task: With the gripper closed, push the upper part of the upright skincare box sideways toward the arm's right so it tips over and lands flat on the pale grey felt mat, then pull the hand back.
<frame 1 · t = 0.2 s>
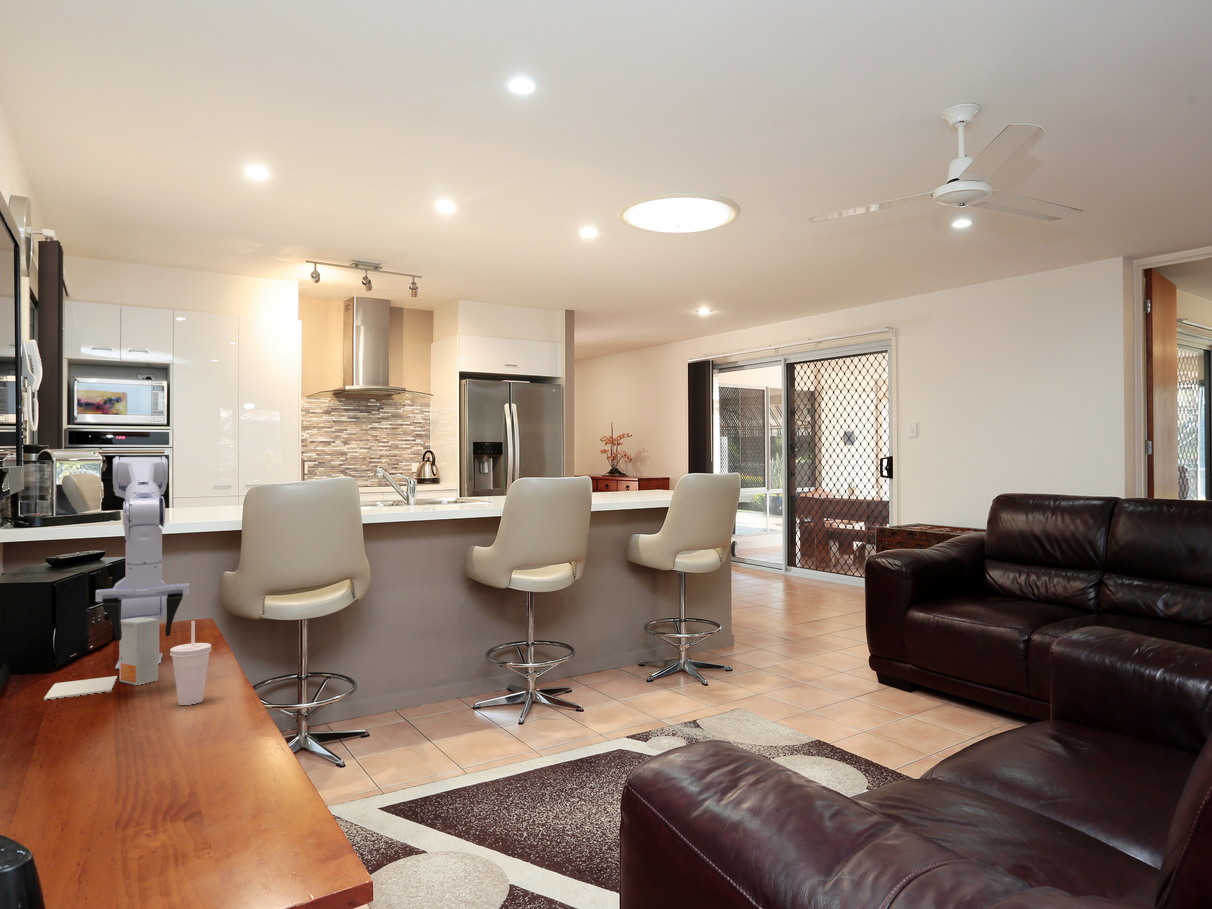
hand: (143, 637, 136), 10 cm above the tv stand, tool pointing down, fingers open, 7 cm apart
smoothie: (190, 703, 129), on the tv stand
skincare box: (139, 682, 143), on the tv stand
felt mat: (82, 688, 139), on the tv stand
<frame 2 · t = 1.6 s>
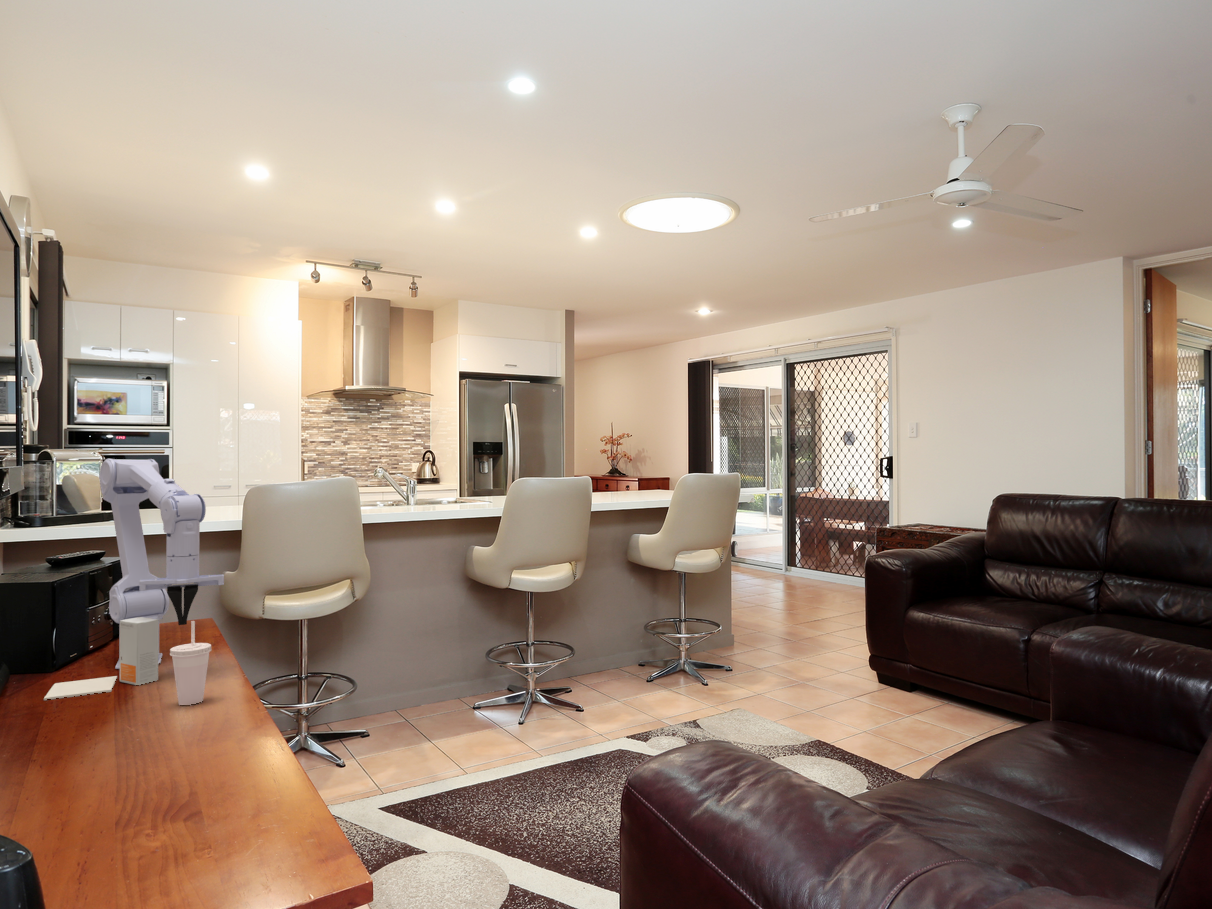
hand: (182, 624, 147), 10 cm above the tv stand, tool pointing down, fingers closed
nothing on the tv stand moved.
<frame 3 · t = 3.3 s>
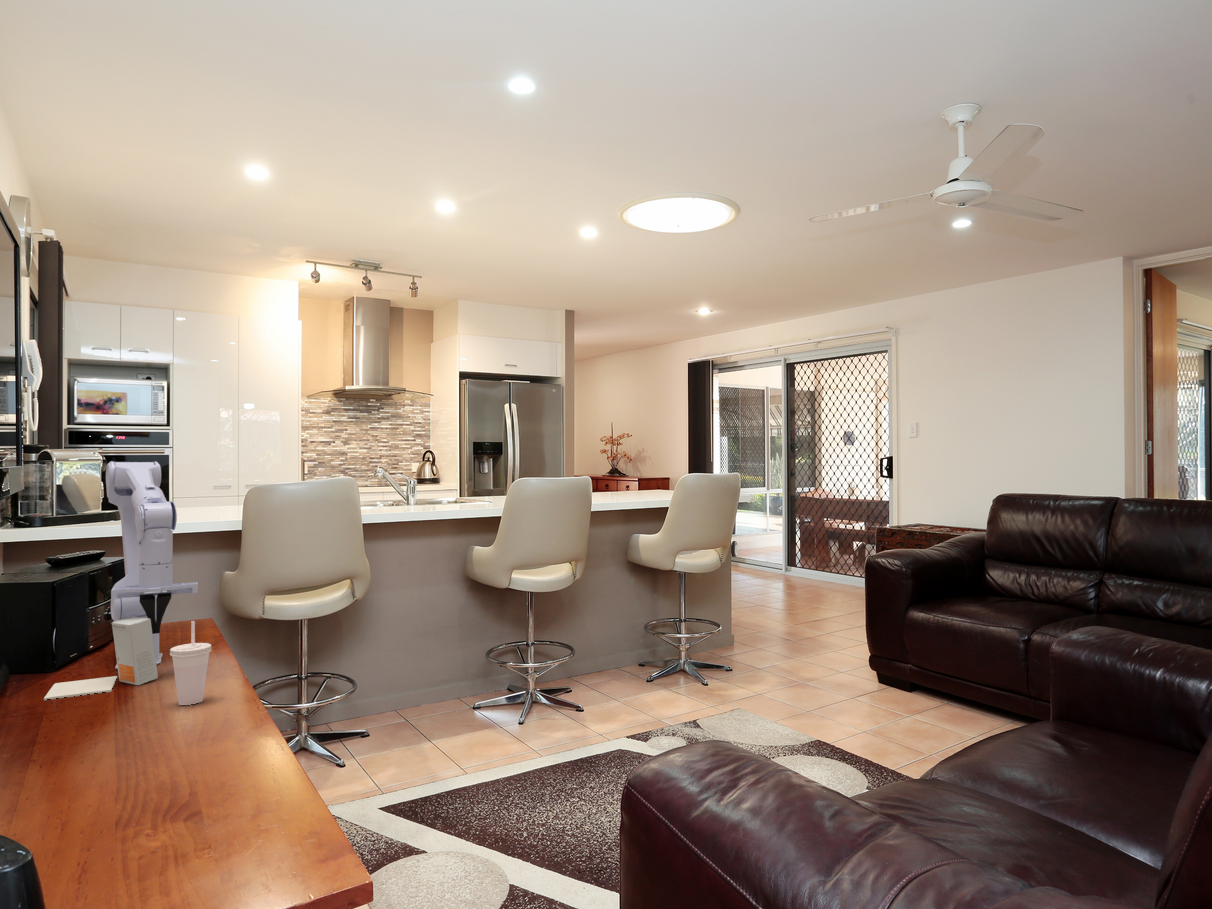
hand: (155, 632, 145), 9 cm above the tv stand, tool pointing down, fingers closed
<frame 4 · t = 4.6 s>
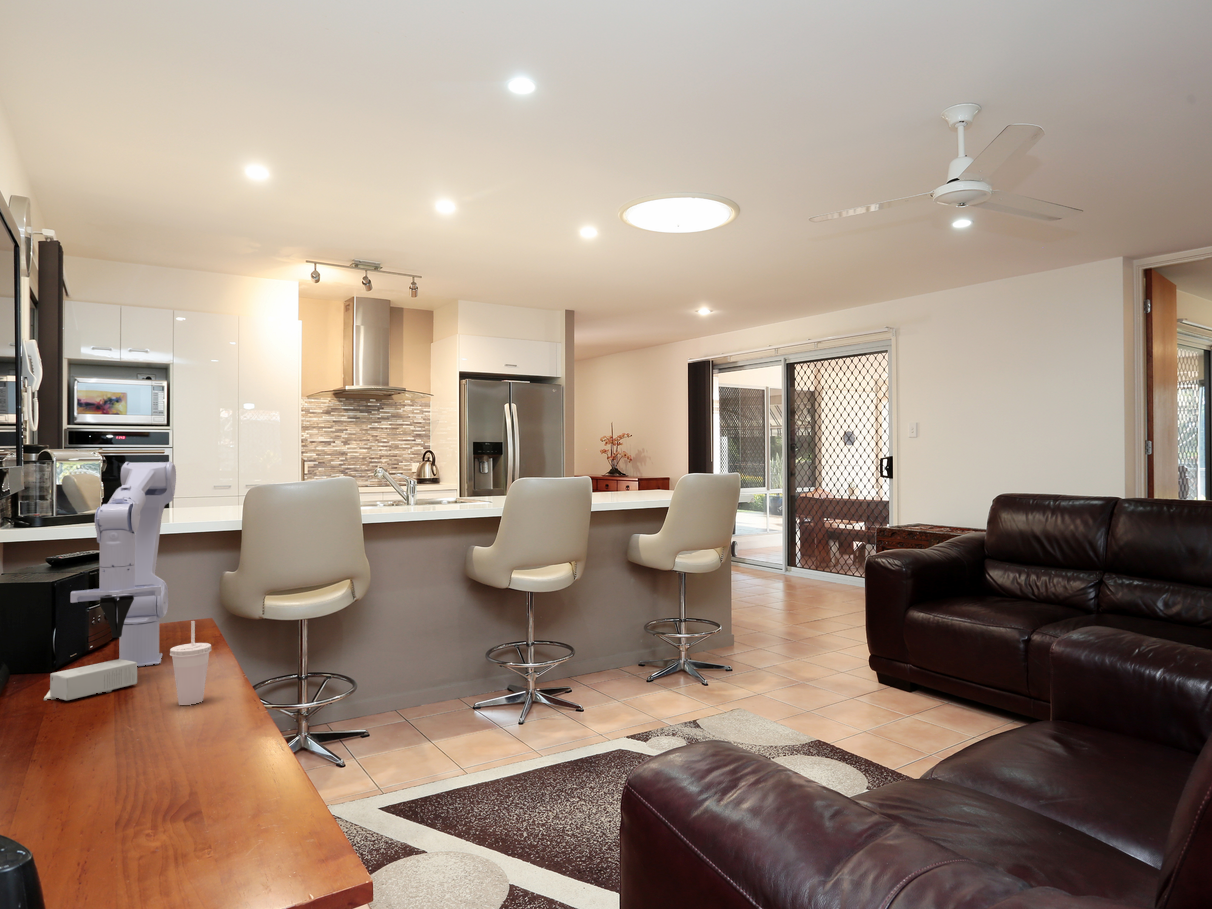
hand: (117, 636, 142), 9 cm above the tv stand, tool pointing down, fingers closed
skincare box: (130, 671, 141), point 2 cm above the tv stand, touching felt mat
everything else where it was.
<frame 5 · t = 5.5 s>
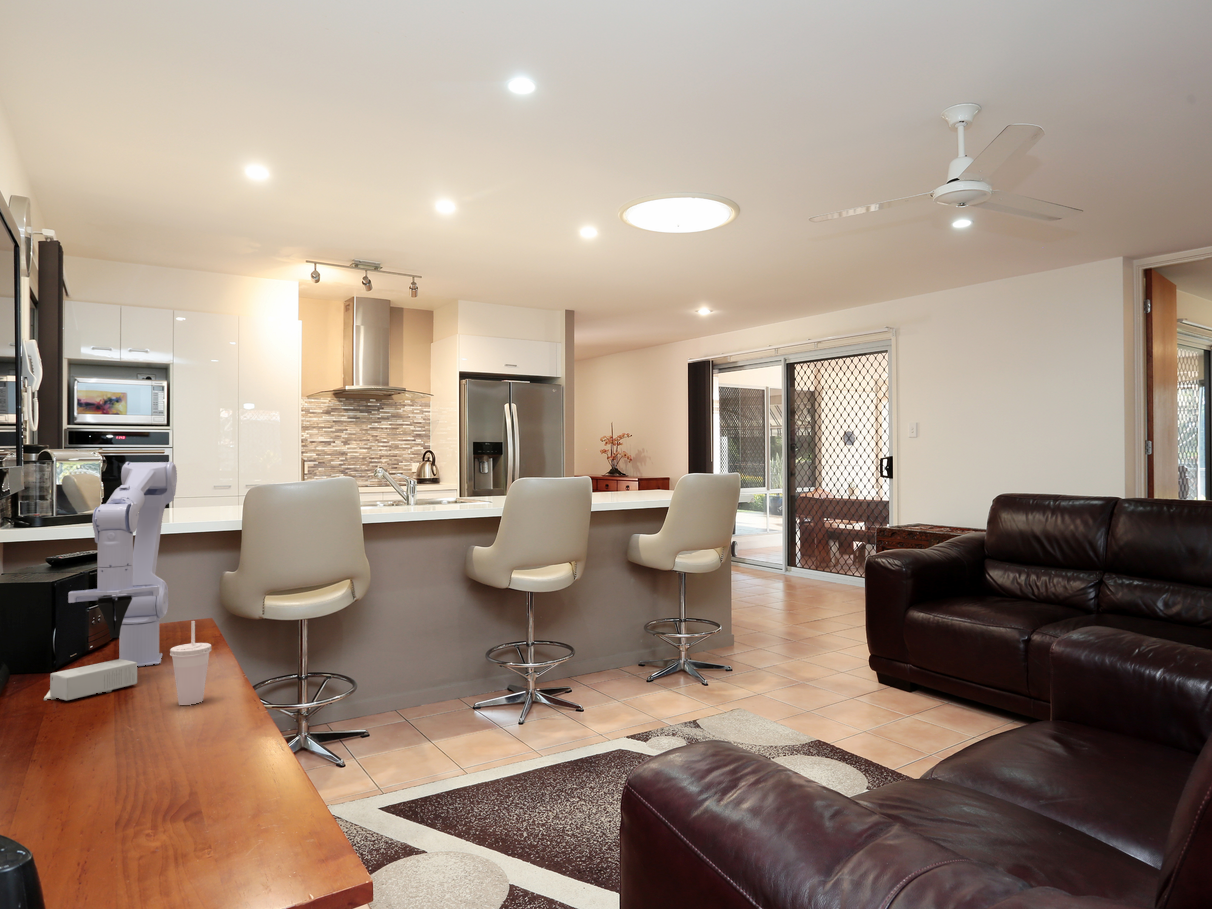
hand: (115, 636, 142), 9 cm above the tv stand, tool pointing down, fingers closed
nothing on the tv stand moved.
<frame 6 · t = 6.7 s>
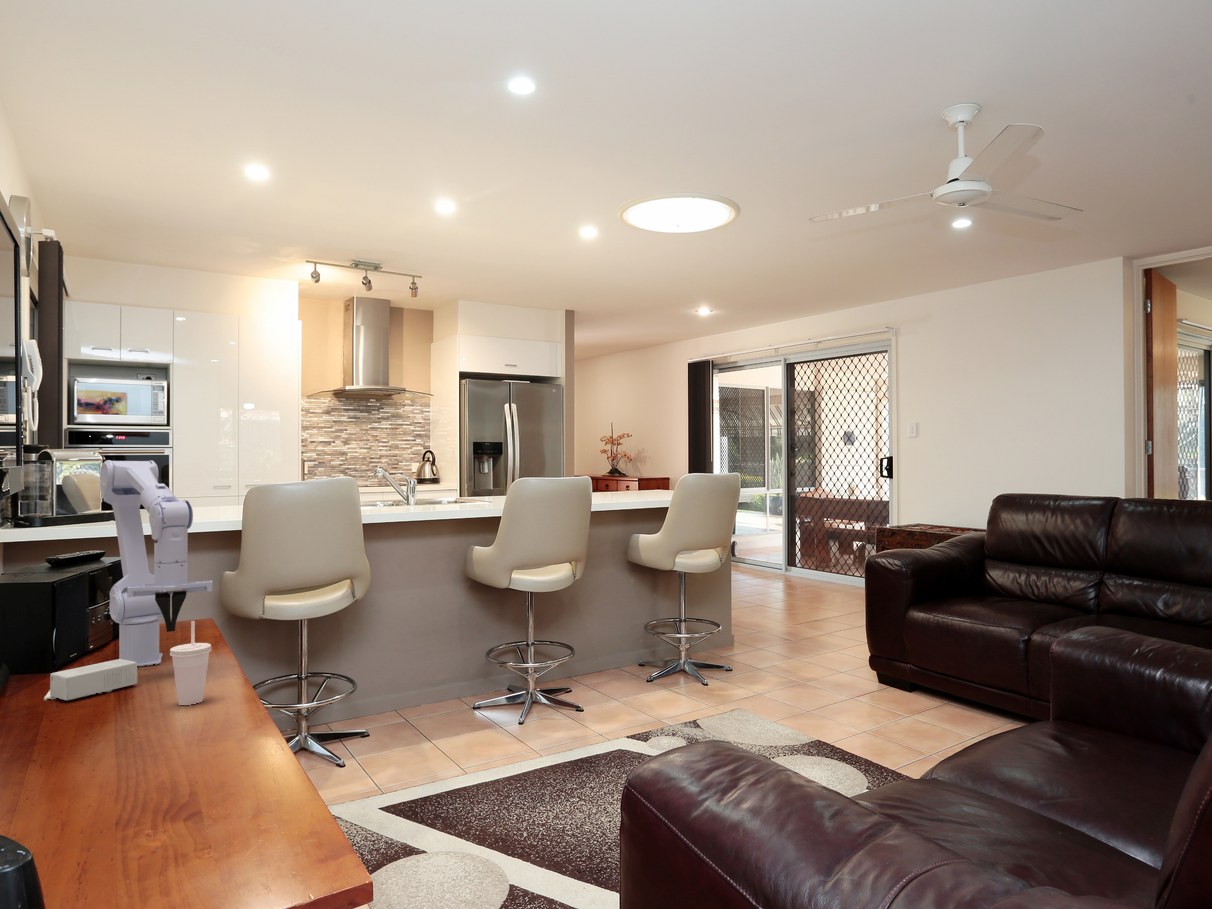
hand: (170, 630, 146), 9 cm above the tv stand, tool pointing down, fingers closed
nothing on the tv stand moved.
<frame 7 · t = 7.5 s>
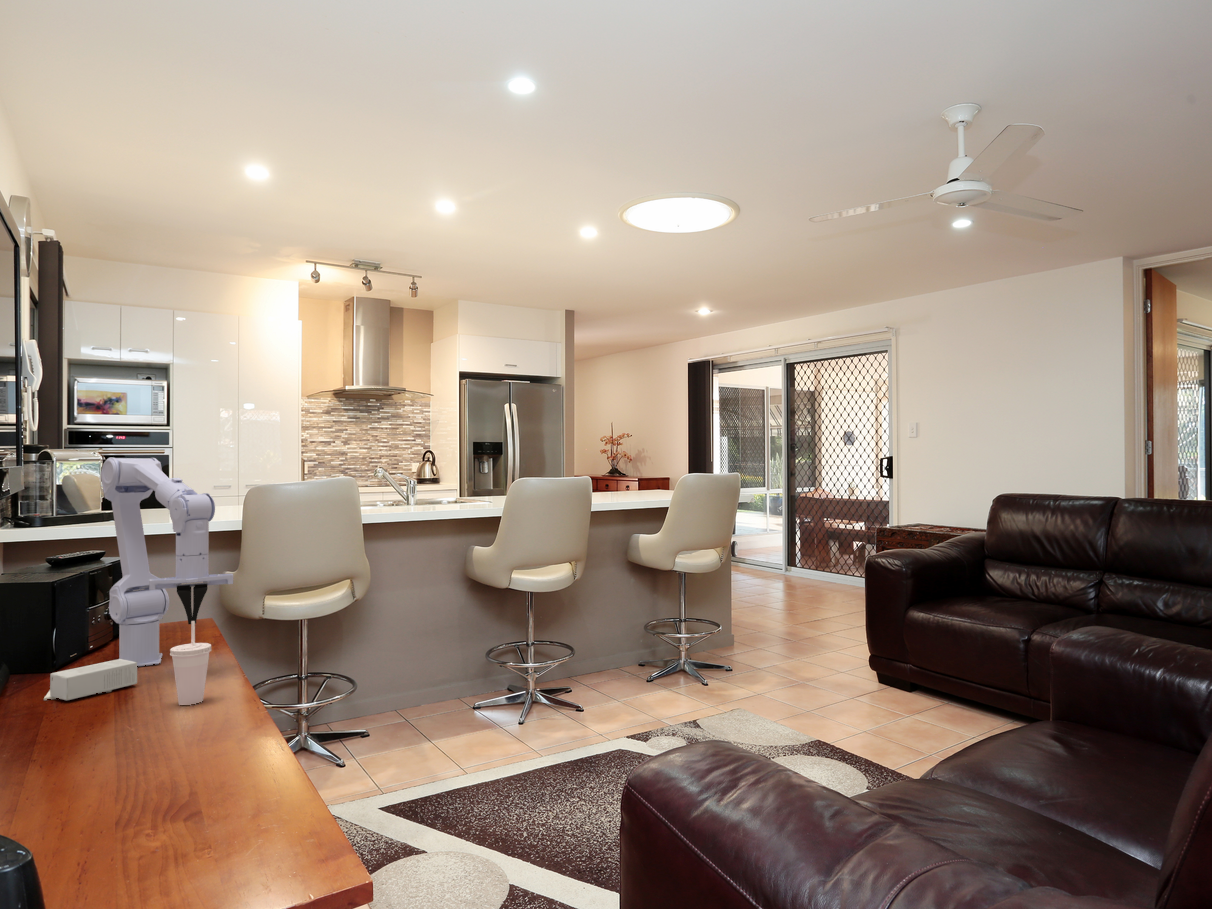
hand: (192, 623, 147), 10 cm above the tv stand, tool pointing down, fingers closed
nothing on the tv stand moved.
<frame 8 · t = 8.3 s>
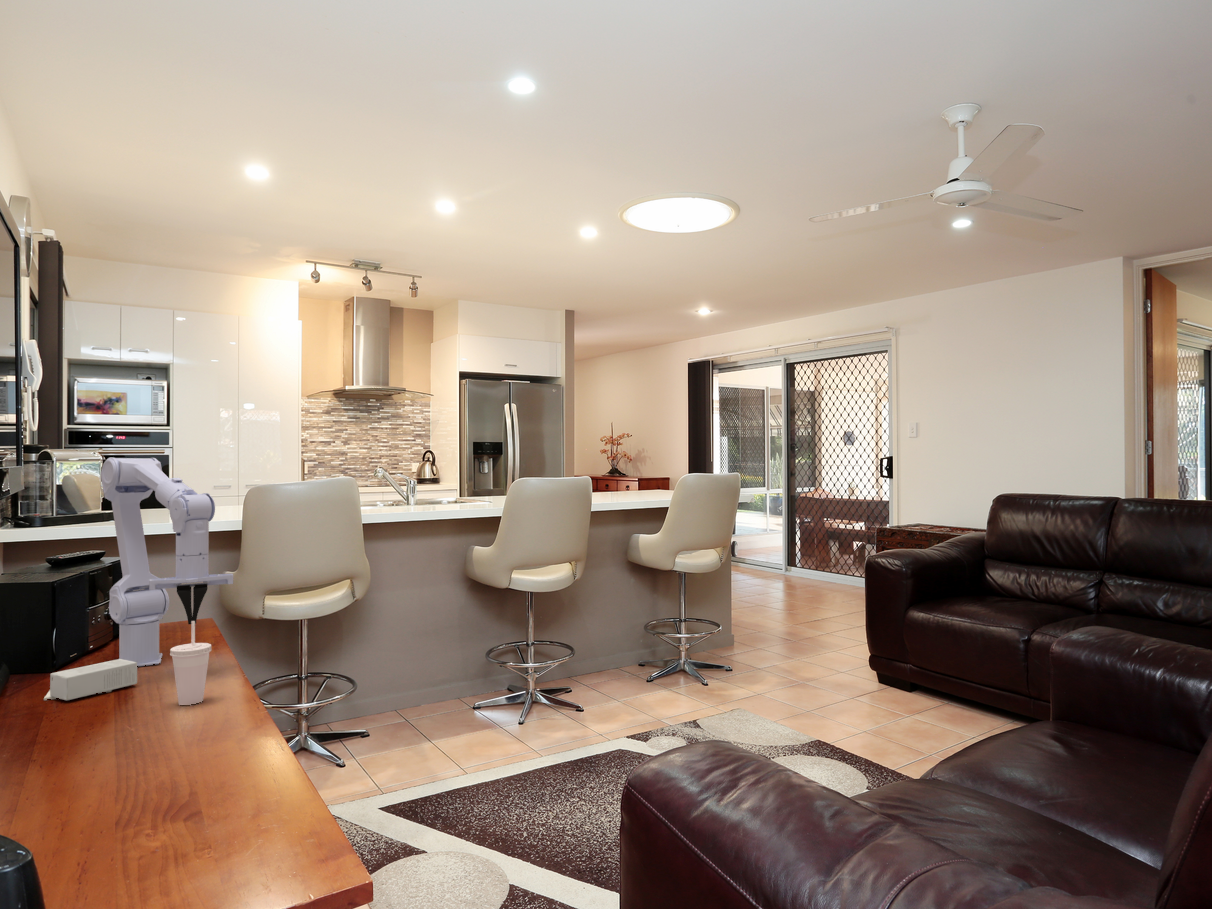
hand: (192, 623, 147), 10 cm above the tv stand, tool pointing down, fingers closed
nothing on the tv stand moved.
at the end: skincare box tilted 90°; skincare box inside the target area (6.3 cm from its centre), point 2.5 cm above the tv stand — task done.
